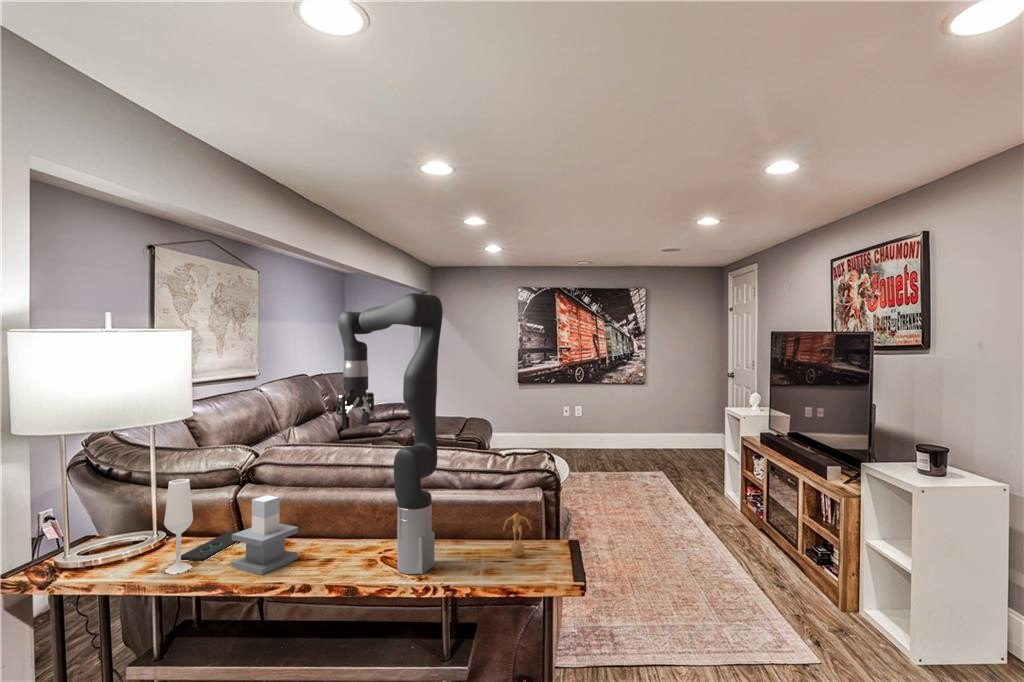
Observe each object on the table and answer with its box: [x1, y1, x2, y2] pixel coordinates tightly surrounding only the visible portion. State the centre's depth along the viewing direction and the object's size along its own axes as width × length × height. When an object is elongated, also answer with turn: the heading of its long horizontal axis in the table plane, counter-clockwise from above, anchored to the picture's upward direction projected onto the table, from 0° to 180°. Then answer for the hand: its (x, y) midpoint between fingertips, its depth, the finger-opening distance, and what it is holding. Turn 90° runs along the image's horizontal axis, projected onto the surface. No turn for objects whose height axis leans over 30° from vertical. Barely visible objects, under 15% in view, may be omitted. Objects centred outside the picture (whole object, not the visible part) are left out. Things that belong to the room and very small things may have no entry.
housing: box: [251, 494, 281, 535], centre depth 146 cm, size 5×5×9 cm
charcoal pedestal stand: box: [231, 523, 299, 576], centre depth 146 cm, size 12×12×9 cm
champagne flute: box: [163, 478, 194, 575], centre depth 142 cm, size 7×7×24 cm
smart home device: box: [181, 532, 239, 562], centre depth 157 cm, size 8×2×20 cm
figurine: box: [502, 512, 532, 558], centre depth 151 cm, size 8×6×12 cm
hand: (356, 427), depth 162 cm, fingers open, 8 cm apart
